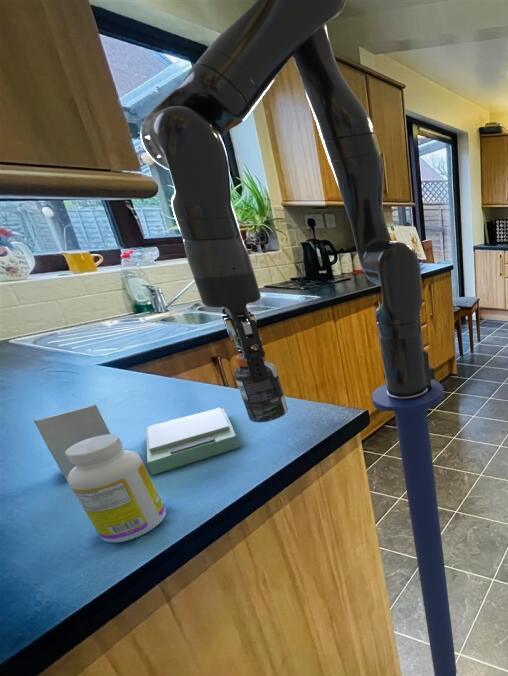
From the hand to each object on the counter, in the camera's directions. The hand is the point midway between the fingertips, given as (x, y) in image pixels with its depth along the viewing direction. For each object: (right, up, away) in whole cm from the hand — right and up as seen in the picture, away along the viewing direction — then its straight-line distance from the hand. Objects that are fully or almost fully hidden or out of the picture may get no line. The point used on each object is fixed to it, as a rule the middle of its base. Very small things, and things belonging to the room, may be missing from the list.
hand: (256, 374), depth 66 cm
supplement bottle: (-8, -21, -13) cm, 26 cm away
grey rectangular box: (-27, -15, 0) cm, 31 cm away
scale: (-15, -12, +6) cm, 20 cm away
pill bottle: (0, -7, +3) cm, 8 cm away
